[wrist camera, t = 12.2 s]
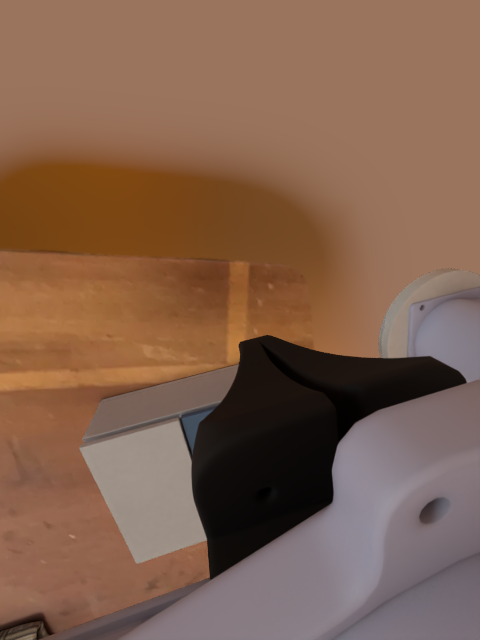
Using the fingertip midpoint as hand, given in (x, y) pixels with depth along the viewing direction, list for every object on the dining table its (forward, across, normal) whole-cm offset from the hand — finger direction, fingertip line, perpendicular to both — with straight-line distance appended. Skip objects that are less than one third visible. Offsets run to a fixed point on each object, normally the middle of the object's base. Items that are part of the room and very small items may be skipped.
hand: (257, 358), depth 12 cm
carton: (+10, +5, +12) cm, 17 cm away
